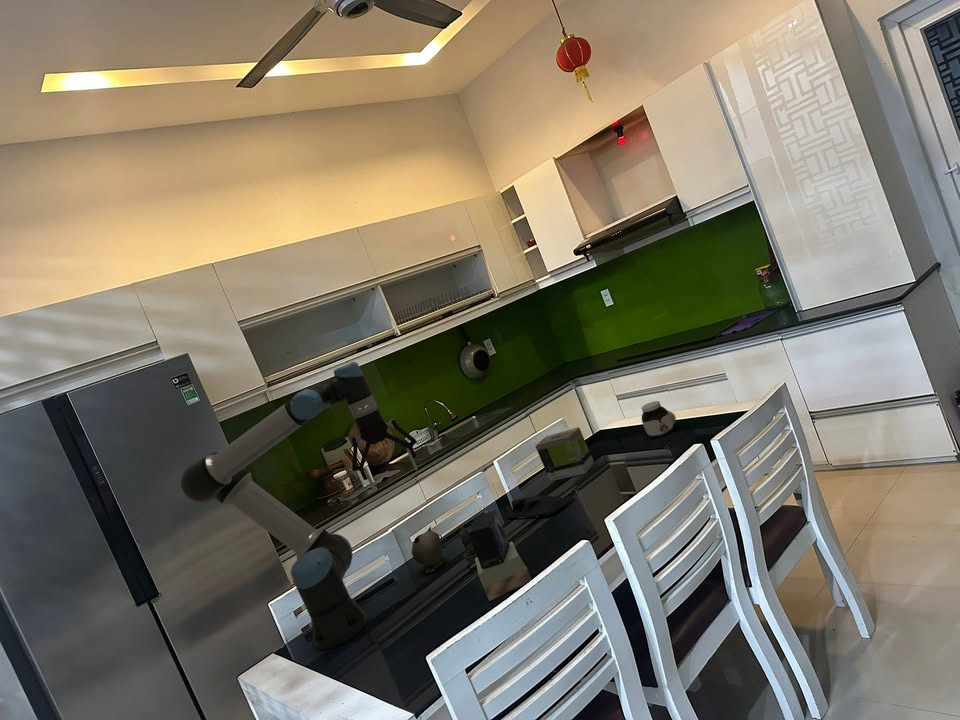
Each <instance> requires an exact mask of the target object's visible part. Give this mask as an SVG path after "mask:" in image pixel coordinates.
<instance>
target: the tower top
mask: <svg viewBox="0 0 960 720" xmlns="http://www.w3.org/2000/svg"><path fill="white" fill-rule="evenodd" d="M509 544H510V545H509V548H508V551H507V554H506V556H505V559H504V562H503V563H501V564H497V565H494V566H490V567H487V568H484V569H482V568H481V565H480V563H479V560H478V558H477V557H476V558H475V561H476V565H477V567H476V570H477V575H478V574H479V575H478V577H479V576H480V578H479V580H480V579H481V580H480V582H481V581H482V583H483V585H482V587H483V586H484V588H486V587H488V586H491V585H493V584H495V583H497V582H499V581H502V580H504V579H506V578H508V577H510V576H513V575H515V574H517V573H519V572H521V571H524V568H523V565H522V563H521V561H520V558H521V557H520V558H519V556H520V555H519V556H518V554H519V553H518V551H517V549H516V547H515V545H514V543H513V541H510V542H509ZM517 553H518V554H517ZM482 583H481V584H482ZM484 588H483V589H484Z"/></svg>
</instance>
